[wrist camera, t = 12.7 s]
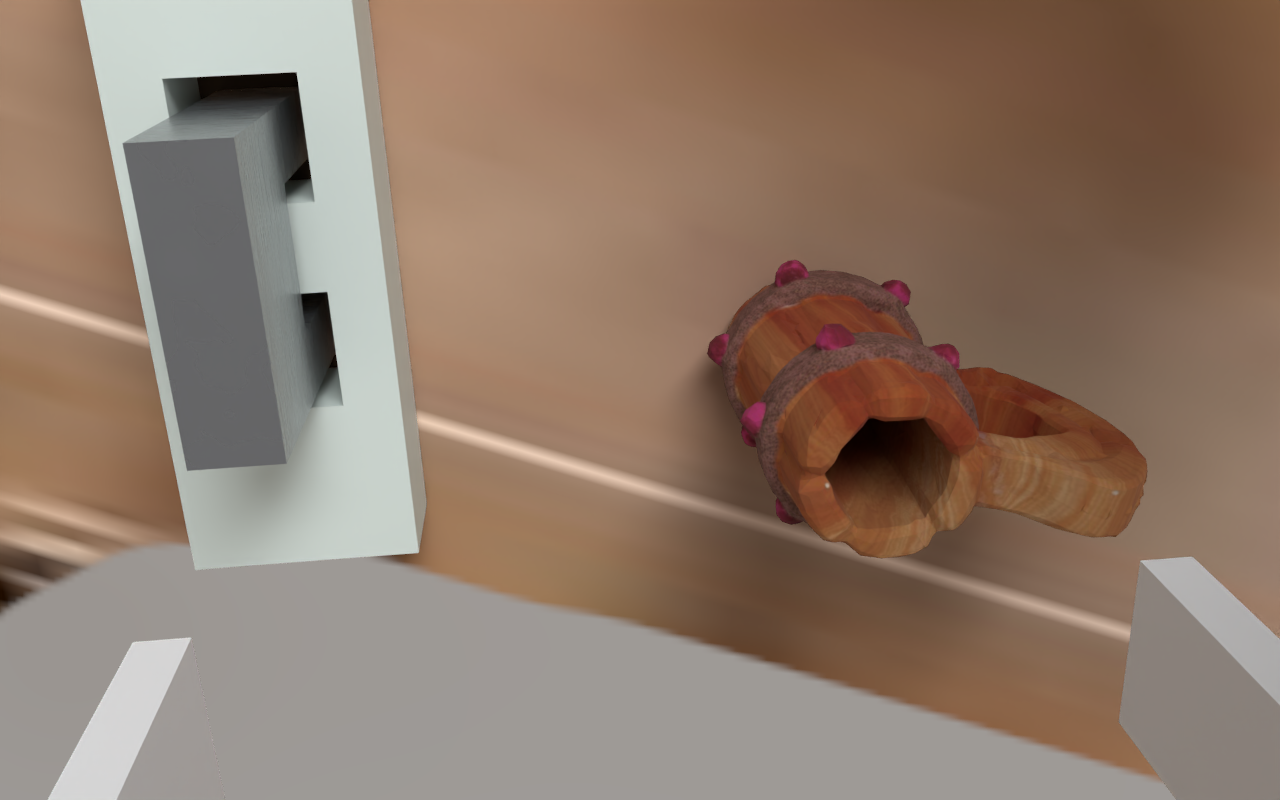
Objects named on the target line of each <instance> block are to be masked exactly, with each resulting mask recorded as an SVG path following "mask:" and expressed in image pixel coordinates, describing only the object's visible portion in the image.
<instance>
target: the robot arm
mask: <svg viewBox="0 0 1280 800" xmlns="http://www.w3.org/2000/svg"><path fill="white" fill-rule="evenodd" d="M1119 723H1120V725H1121V726H1122V727H1123V729H1124V730H1125V731H1126V733H1127V734H1128V735H1129V737H1130V738H1131V739H1132V741H1133V742H1134V743H1135V745H1136V746H1137V747H1138V749H1139V750H1140V752H1141V753H1142V754H1143V756H1144V757H1145V758H1146V760H1147V761H1148V762H1149V764H1150V765H1151V766H1152V768H1153V769H1154V770H1155V772H1156V773H1157V774H1158V776H1159V777H1160V778H1161V780H1162V781H1163V782H1164V784H1165V785H1166V786H1167V788H1168V789H1169V790H1170V792H1171V793H1172V794H1173V796H1174V797H1175V799H1176V800H1280V639H1279V638H1278V637H1277V636H1276V635H1275V634H1274V633H1273V632H1272V631H1270V630H1269V629H1268V628H1267V627H1266V626H1265V625H1264V624H1263V623H1262V622H1261V621H1260V620H1259V619H1258V618H1257V617H1256V616H1255V615H1254V614H1253V613H1251V612H1250V611H1249V610H1248V609H1247V608H1246V607H1245V606H1244V605H1243V604H1242V603H1241V602H1240V601H1239V600H1238V599H1237V598H1236V597H1235V596H1234V595H1232V594H1231V593H1230V592H1229V591H1228V590H1227V589H1226V588H1225V587H1224V586H1223V585H1222V584H1221V583H1220V582H1219V581H1218V580H1217V579H1216V578H1215V577H1213V576H1212V575H1211V574H1210V573H1209V572H1208V571H1207V570H1206V569H1205V568H1204V567H1203V566H1202V565H1201V564H1200V563H1199V562H1198V561H1197V560H1196V559H1194V558H1193V557H1181V558H1168V559H1156V560H1143V561H1140V566H1139V574H1138V581H1137V589H1136V596H1135V604H1134V611H1133V619H1132V626H1131V634H1130V641H1129V649H1128V656H1127V664H1126V671H1125V678H1124V686H1123V693H1122V701H1121V708H1120V716H1119ZM48 800H225V796H224V792H223V787H222V782H221V777H220V772H219V768H218V763H217V758H216V753H215V749H214V743H213V738H212V734H211V729H210V724H209V719H208V714H207V709H206V705H205V700H204V695H203V691H202V685H201V680H200V676H199V671H198V666H197V661H196V656H195V651H194V647H193V642H192V638H191V637H190V638H178V639H166V640H154V641H141V642H133V643H132V645H131V647H130V649H129V650H128V652H127V654H126V656H125V658H124V660H123V661H122V663H121V665H120V667H119V669H118V671H117V672H116V674H115V676H114V678H113V680H112V682H111V684H110V686H109V687H108V689H107V691H106V693H105V695H104V696H103V698H102V700H101V702H100V704H99V706H98V708H97V709H96V711H95V713H94V715H93V717H92V719H91V720H90V723H89V724H88V726H87V728H86V730H85V732H84V733H83V735H82V737H81V739H80V741H79V743H78V745H77V746H76V748H75V750H74V752H73V754H72V756H71V758H70V759H69V761H68V763H67V765H66V767H65V768H64V770H63V772H62V774H61V776H60V778H59V780H58V781H57V784H56V785H55V787H54V789H53V791H52V793H51V795H50V796H49V798H48Z"/></svg>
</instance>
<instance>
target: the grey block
mask: <svg viewBox="0 0 1280 800" xmlns="http://www.w3.org/2000/svg"><path fill="white" fill-rule="evenodd" d="M123 148H124V154H125V159H126V164H127V169H128V174H129V179H130V184H131V189H132V194H133V199H134V204H135V209H136V214H137V220H138V225H139V230H140V235H141V240H142V245H143V250H144V255H145V260H146V265H147V270H148V275H149V281H150V286H151V291H152V296H153V301H154V306H155V311H156V316H157V321H158V326H159V331H160V336H161V341H162V347H163V352H164V357H165V362H166V367H167V372H168V377H169V382H170V387H171V392H172V397H173V402H174V407H175V413H176V418H177V423H178V428H179V433H180V438H181V443H182V448H183V453H184V458H185V463H186V468H187V471H192V470H206V469H220V468H234V467H249V466H263V465H277V464H287V462H288V460H289V458H290V455H291V453H292V451H293V448H294V446H295V444H296V441H297V439H298V437H299V435H300V432H301V430H302V428H303V425H304V423H305V421H306V419H307V416H308V414H309V412H310V409H311V407H312V405H313V402H314V400H315V398H316V396H317V393H318V391H319V389H320V386H321V384H322V382H323V380H324V377H325V375H326V373H327V370H328V368H329V366H330V363H331V361H332V359H333V357H334V354H335V352H336V350H335V343H334V335H333V328H332V321H331V314H330V307H329V300H328V293H327V292H318V293H302V294H301V293H300V286H299V280H298V273H297V266H296V259H295V253H294V246H293V239H292V233H291V226H290V219H289V212H288V206H287V199H286V192H285V186H284V184H285V183H286V182H287V180H288V179H289V178H290V177H291V176H292V175H293V174H294V173H295V172H296V171H297V169H298V168H299V167H300V166H301V165H302V164H303V163H304V162H305V161H306V160H307V158H308V150H307V143H306V136H305V129H304V122H303V114H302V107H301V100H300V93H299V86H292V87H272V88H252V89H231V90H218V91H216V92H214V93H212V94H211V95H209V96H207V97H205V98H203V99H202V100H200V101H198V102H196V103H194V104H193V105H191V106H189V107H187V108H185V109H183V110H182V111H180V112H178V113H176V114H174V115H173V116H171V117H169V118H167V119H165V120H164V121H162V122H160V123H158V124H156V125H155V126H153V127H151V128H149V129H147V130H145V131H144V132H142V133H140V134H138V135H136V136H135V137H133V138H131V139H129V140H127V141H126V142H124V143H123Z"/></svg>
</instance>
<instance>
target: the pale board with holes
mask: <svg viewBox="0 0 1280 800" xmlns="http://www.w3.org/2000/svg"><path fill="white" fill-rule="evenodd" d="M81 5H82V10H83V15H84V20H85V25H86V30H87V35H88V40H89V45H90V50H91V55H92V60H93V65H94V70H95V75H96V80H97V85H98V90H99V95H100V100H101V105H102V110H103V115H104V120H105V125H106V130H107V135H108V140H109V144H110V149H111V154H112V159H113V164H114V169H115V174H116V179H117V184H118V189H119V194H120V199H121V204H122V209H123V214H124V219H125V224H126V229H127V234H128V239H129V244H130V249H131V254H132V259H133V264H134V269H135V274H136V279H137V284H138V289H139V294H140V299H141V304H142V309H143V314H144V319H145V324H146V329H147V334H148V339H149V343H150V348H151V353H152V358H153V363H154V368H155V373H156V378H157V383H158V388H159V393H160V398H161V403H162V408H163V413H164V418H165V423H166V428H167V433H168V438H169V443H170V448H171V453H172V458H173V463H174V468H175V473H176V478H177V483H178V488H179V493H180V498H181V503H182V508H183V513H184V518H185V523H186V528H187V533H188V537H189V542H190V547H191V552H192V557H193V562H194V567H195V570H203V569H216V568H227V567H242V566H254V565H267V564H281V563H293V562H307V561H320V560H331V559H332V560H333V559H345V558H358V557H372V556H385V555H398V554H411V553H419V548H420V542H421V536H422V530H423V524H424V518H425V512H426V506H427V501H426V492H425V484H424V475H423V466H422V458H421V449H420V441H419V432H418V423H417V415H416V406H415V398H414V389H413V380H412V372H411V363H410V355H409V346H408V337H407V329H406V320H405V312H404V303H403V294H402V286H401V277H400V268H399V260H398V251H397V243H396V234H395V225H394V217H393V208H392V200H391V191H390V182H389V174H388V165H387V157H386V148H385V139H384V131H383V122H382V113H381V105H380V96H379V88H378V79H377V70H376V62H375V53H374V45H373V36H372V27H371V19H370V10H369V2H368V0H81ZM289 72H297V79H298V86H299V93H300V100H301V107H302V114H303V122H304V129H305V136H306V143H307V150H308V157H309V164H310V171H311V179H303V180H287V182H286V183H285V184H284V186H285V192H286V199H287V206H288V212H289V219H290V226H291V233H292V239H293V246H294V253H295V259H296V266H297V273H298V280H299V286H300V293H301V294H302V293H318V292H327V293H328V300H329V307H330V314H331V321H332V328H333V335H334V343H335V350H336V357H337V364H338V367H336V368H328V370H327V373H326V375H325V377H324V380H323V382H322V384H321V386H320V389H319V391H318V393H317V396H316V398H315V400H314V402H313V405H312V407H311V409H310V412H309V414H308V416H307V419H306V421H305V423H304V425H303V428H302V430H301V432H300V435H299V437H298V439H297V441H296V444H295V446H294V448H293V451H292V453H291V455H290V458H289V460H288V462H287V464H277V465H263V466H249V467H234V468H220V469H206V470H192V471H187V468H186V463H185V458H184V453H183V448H182V443H181V438H180V433H179V428H178V423H177V418H176V413H175V407H174V402H173V397H172V392H171V387H170V382H169V377H168V372H167V367H166V362H165V357H164V352H163V347H162V341H161V336H160V331H159V326H158V321H157V316H156V311H155V306H154V301H153V296H152V291H151V286H150V281H149V275H148V270H147V265H146V260H145V255H144V250H143V245H142V240H141V235H140V230H139V225H138V220H137V214H136V209H135V204H134V199H133V194H132V189H131V184H130V179H129V174H128V169H127V164H126V159H125V154H124V148H123V143H124V142H126V141H127V140H129V139H131V138H133V137H135V136H136V135H138V134H140V133H142V132H144V131H145V130H147V129H149V128H151V127H153V126H155V125H156V124H158V123H160V122H162V121H164V120H165V119H167V118H169V117H171V116H173V115H174V114H176V113H178V112H180V111H182V110H183V109H185V108H187V107H189V106H191V105H193V104H194V103H196V102H198V101H200V100H201V98H200V92H199V86H198V81H197V77H208V76H228V75H249V74H269V73H289Z"/></svg>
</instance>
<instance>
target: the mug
mask: <svg viewBox="0 0 1280 800" xmlns="http://www.w3.org/2000/svg"><path fill="white" fill-rule="evenodd" d="M910 293H911V292H910V290H909V288H908V287H907V285H906V284H905V283H903V282H902V281H900V280H891V281H887V282H884V283H883V284H882V285H878V284H876V283H874V282H872V281H870V280H868V279H866V278H864V277H860V276H856V275H852V274H848V273H844V272H837V271H824V270H818V271H810V272H808V271H807V269H806V268H805V266H804V265H803V264H802V263H800V262H799V261H797V260H791V261H787V262H786V263H784V264H782V265H781V266H780V268H779V269H778V271H777V272H776V277H775V283H773V284H772V285H769V286H765V287H764V288H762V289H761V290H760V291H759V292H758V293H756V294H755V295H754V296H753V297H751V298H750V299H749V300H747V301H746V302H745V303H744V304H743V305H742V306H741V307H740V309H739V310H738V311H737V313H736V314H735V316H734V317H733V319H732V322H731V324H730V326H729V330H728V331H727V333H726V334H722V335H719V336H716V337H715V338H714V339H713V340H712V341H711V342H710V344H709V348H708V353H707V354H708V356H709V357H710V358H711V359H712V360H713V361H714V362H716V363H717V364H718V365H720V366H721V367H722V371H723V376H724V381H725V387H726V390H727V394H728V397H729V400H730V402H731V405H732V407H733V409H734V411H735V413H736V415H737V417H738V419H739V420H740V422H741V424H742V425H743V426H742V431H741V434H742V437H743V439H744V442H745V443H746V444H747V445H749V446H751V447H757V452H758V458H759V461H760V464H761V466H762V469H763V471H764V475H765V477H766V479H767V481H768V483H769V485H770V487H771V489H772V491H773V493H774V494H775V495H776V496H777V499H776V513H777V516H778V517H779V518H780V519H781V520H782V522H785V523H788V524H791V525H792V524H797V523H800V522H802V521H804V522H806V523H808V524H809V526H810V527H811V528H812V529H813V530H814V531H815V532H816V533H817V534H818V535H819V536H820V537H821V538H822V539H823V540H826V541H830V542H844V543H846V544H848V545H849V546H850V547H851V548H852V549H853V550H855V551H856V552H857V553H858V554H859V555H861V556H869V557H876V558H889V557H901V556H905V555H910V554H914V553H916V552H918V551H920V550H922V549H923V548H925V547H927V546H928V545H929V543H930V540H931V538H932V536H933V535H934V534H935V533H936V531H947V530H955V529H956V528H957V527H959V526H960V525H961V524H962V523H963V522H964V520H965V519H966V518H967V517H968V515H969V514H970V513H971V512H972V509H973V507H974V506H977V507H985V508H992V509H999V510H1003V511H1008V512H1012V513H1016V514H1019V515H1021V516H1024V517H1027V518H1029V519H1032V520H1035V521H1037V522H1040V523H1043V524H1045V525H1048V526H1051V527H1053V528H1056V529H1060V530H1064V531H1068V532H1072V533H1076V534H1080V535H1084V536H1089V537H1107V536H1112V537H1116V536H1117V535H1118V534H1119V533H1121V532H1122V531H1123V530H1124V529H1125V528H1126V527H1127V526H1128V524H1129V522H1130V520H1131V519H1132V516H1133V514H1134V512H1135V510H1136V508H1137V507H1138V506H1139V504H1140V498H1141V497H1142V496H1143V485H1144V484H1145V482H1146V477H1147V463H1146V459H1145V458H1144V457H1143V456H1142V454H1141V453H1140V452H1139V451H1138V450H1137V448H1136V446H1135V445H1134V443H1133V442H1132V441H1131V440H1130V439H1129V438H1128V437H1127V436H1126V435H1125V434H1123V433H1122V432H1121V431H1119V430H1118V429H1117V428H1115V427H1114V426H1113V425H1111V424H1110V423H1109V422H1107V421H1106V420H1104V419H1102V418H1101V417H1099V416H1097V415H1096V414H1094V413H1092V412H1091V411H1089V410H1087V409H1085V408H1084V407H1082V406H1080V405H1079V404H1077V403H1075V402H1073V401H1071V400H1069V399H1066V398H1064V397H1062V396H1060V395H1057V394H1055V393H1053V392H1051V391H1048V390H1046V389H1044V388H1042V387H1039V386H1037V385H1034V384H1032V383H1029V382H1026V381H1024V380H1021V379H1019V378H1016V377H1013V376H1011V375H1008V374H1003V373H999V372H997V371H995V370H993V369H992V368H980V367H976V368H969V369H958V368H959V352H958V351H957V350H956V348H955V347H954V346H952V345H950V344H941V345H936V346H932V347H926V346H924V345H923V342H922V338H921V336H920V334H919V332H918V329H917V327H916V325H915V324H914V322H913V320H912V319H911V317H910V316H909V314H908V312H907V311H906V309H905V306H907V305H908V304H909V300H910Z"/></svg>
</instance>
